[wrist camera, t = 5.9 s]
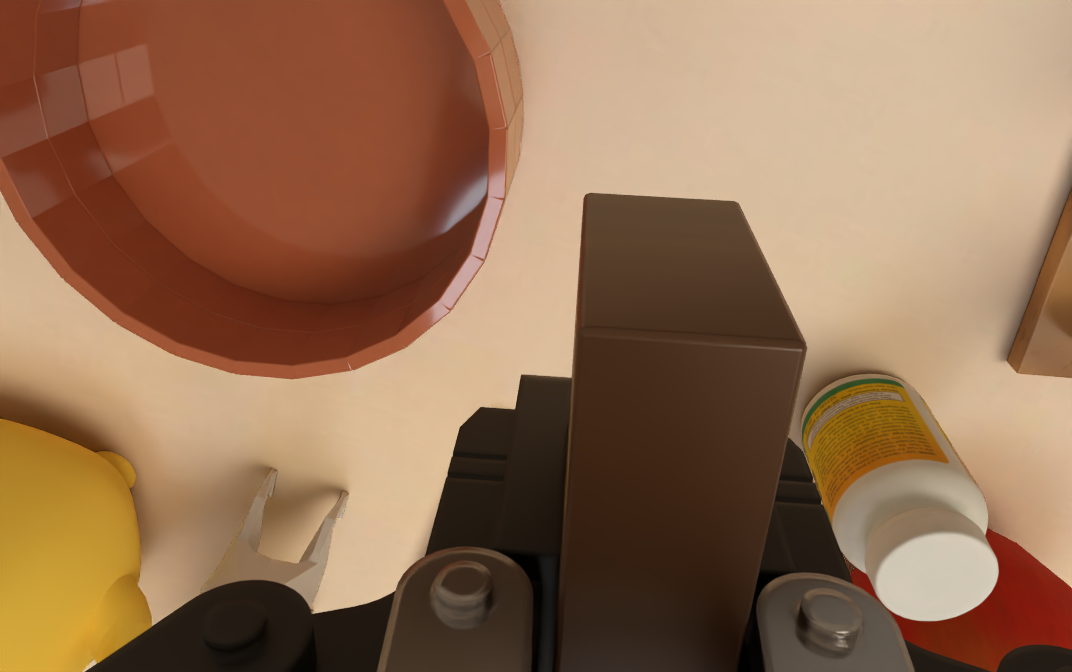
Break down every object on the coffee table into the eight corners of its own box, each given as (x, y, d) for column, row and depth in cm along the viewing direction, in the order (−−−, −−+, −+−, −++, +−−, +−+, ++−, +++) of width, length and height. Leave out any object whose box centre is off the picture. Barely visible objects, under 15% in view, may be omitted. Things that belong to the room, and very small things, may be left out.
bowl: (27, -174, 28) (-110, -193, 22) (536, -143, 27) (519, -155, 22) (120, 290, 36) (35, 357, 30) (513, 323, 35) (497, 397, 30)
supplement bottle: (951, 409, 35) (1060, 568, 27) (863, 489, 38) (938, 659, 29) (855, 346, 34) (937, 491, 26) (771, 433, 37) (821, 592, 28)
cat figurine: (223, 655, 46) (83, 932, 34) (287, 367, 37) (126, 601, 24) (301, 677, 46) (190, 959, 34) (383, 397, 37) (273, 644, 25)
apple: (775, 552, 40) (834, 775, 30) (971, 447, 36) (1115, 660, 26) (885, 670, 43) (972, 909, 33) (1075, 584, 39) (1239, 822, 29)
